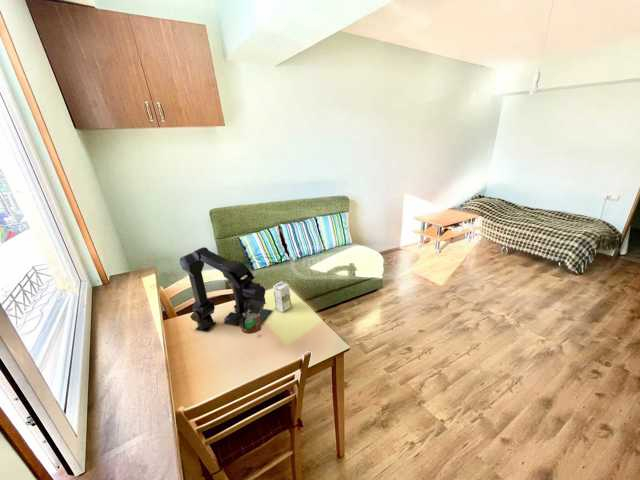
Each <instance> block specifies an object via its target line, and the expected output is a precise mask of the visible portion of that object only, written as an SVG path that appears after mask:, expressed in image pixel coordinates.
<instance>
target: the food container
mask: <svg viewBox="0 0 640 480" xmlns="http://www.w3.org/2000/svg"><path fill="white" fill-rule="evenodd" d="M236 312H237V309H235V308H234V311H233V313H236ZM243 315H244V317H245V318H246V319H245V320H244V322H245V329H242V328H241V327H240V329H241V332H242V333H244V334H246V335H250V334H252V335H253V334H255V333H258V332H260V331H261V330H262V327H261V325H260V317H259V316H260V313H259V314H255V313H254V312H252V311H250V310H248V311H246V312H245V313H244V314H243Z"/></svg>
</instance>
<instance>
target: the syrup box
mask: <svg viewBox="0 0 640 480" xmlns="http://www.w3.org/2000/svg"><path fill="white" fill-rule="evenodd" d="M272 290H273V296H274V304H275V309H276V310H278V311H280V312H281V313H284V312H286V311H288V310H289V309H291V308H292V301H291V291H290V285H289V284H288V283H287V282H284V281H279V282H278V283H276V284H274V285H272Z"/></svg>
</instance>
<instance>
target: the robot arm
mask: <svg viewBox="0 0 640 480" xmlns="http://www.w3.org/2000/svg"><path fill="white" fill-rule="evenodd" d="M205 264H206V265H208V266H210V267H212V268H214V269H216V270H218V271H219V272H221V273H222V276H223V277H224V278H225V279H227V281H226V283H227V284H230V285H231V286H230V287H231V289H232V294H233V296H232V297H231V300H232V301H234V303H235V304H234V306H233V308H234V310H235V309H237V312H236V313H234V311H233V312H232V311H230V312H229V313H228V314H227V315H226V316H225V317H224V318H223V321H224V322H225V323H224V325H229V326H233V327H239V328H240V329H241V328H242V329H245V322H244V320H245V319H246V318H245V317H244V315H243V314H244V313H245V312H246V311H248V310H250V311H252V312H254V313H255V314H259V313H260V312H261V310H263V309H264V307H265V305H266V303H267V302H266V297H265V295H266V288H265V287H264V286H262V285H261V283H259V282H255V281H253V280H255V278H256V277H255V276H254V275H253V272H252V271H251V270H250V269H249V268H248V266H247V265H246V264H245V263H244V262H241V261H238V260H229V259H227V258H225V257H223V256H221V255H219V254H217V253H216V252H215V253H214V252H213V251H211V250H209V248H207V247H205V246H202V247H200V248H198V249H195V250H194V251H192V252H190V253H188V254H185V255H183V256H181V257H180V258H179V265H180V266H181V268H182V270H183V271H184V272H186V273H187V275H188V277H189V282H190V285H191V290H192V293H193V297H194V302H193V304H192V313H191V315H190V320H191V321H193V322H196V324H197V327H196V328H195V330H196V331H201V332H207V333H208V332H210V330H211V329H213V327H214V326H215V325H216V324H217V322H216V321H214V319H213V316H212V314H214V313H215V309H216V307H215V303H214V301H211V300H210V299H209V298H208V293H207V291H206V286H205V282H204V277H203V269H204V267H205Z"/></svg>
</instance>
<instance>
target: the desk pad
mask: <svg viewBox="0 0 640 480" xmlns="http://www.w3.org/2000/svg"><path fill="white" fill-rule="evenodd" d="M271 313H272V310H271V309H267V308H263V310H261V312H260V316H259V317H260V326H261V325H262V324H263V323H264V322H265V321H266V319H267V318H268V317H269V315H270V314H271ZM223 323H224V324H225V321H224V322H223Z"/></svg>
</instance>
